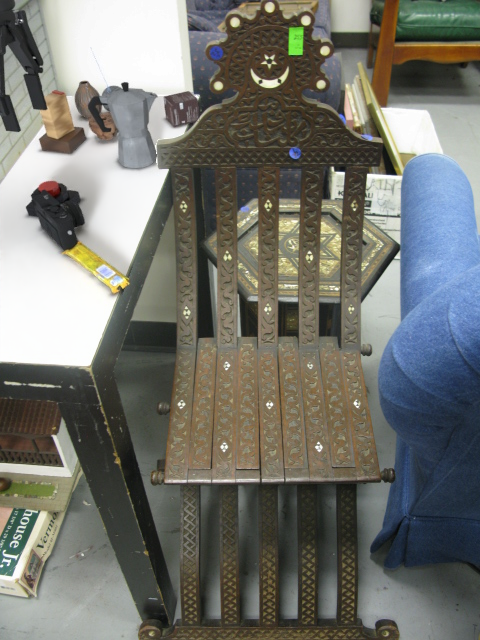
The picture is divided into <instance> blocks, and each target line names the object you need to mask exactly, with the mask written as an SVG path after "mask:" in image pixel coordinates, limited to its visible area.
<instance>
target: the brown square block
mask: <svg viewBox="0 0 480 640" xmlns="http://www.w3.org/2000/svg"><path fill="white" fill-rule="evenodd" d="M74 128H75V130H73V131H71V132H69V133H68V134H66V135H64V136H62V137H61V138H59V139H55V138H52V137H48V136H47V133H46V132H45V133H44V134H42V136H40V137H39V138H38V141H39V145H40V148H41V150H42V151H43V152H55V153H62V154H70V155H71V154H72V153H73V152H74V151H75V150H76V149H77V148H79V146H81V144H82V143H84V141H86V140H87V137H86V132H85V128H84V127H83V126H82V127H81V126H74Z"/></svg>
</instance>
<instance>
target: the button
mask: <svg viewBox="0 0 480 640" xmlns="http://www.w3.org/2000/svg"><path fill="white" fill-rule="evenodd" d="M58 183H59V182H57V181H55V180H46V181H43V182H41V183H40V184H39V185H38V187H37V188H39V190H44V189H45V190H46V191H47V192H48V193H49V194H50V195H51V196H55V195H58V194H59V193H60V189H59V185H58Z"/></svg>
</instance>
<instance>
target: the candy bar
mask: <svg viewBox="0 0 480 640" xmlns="http://www.w3.org/2000/svg"><path fill="white" fill-rule="evenodd" d="M61 255H66V256H68V257H69V258H71V259H72V260H74V261H75V262H76V263H77V264H79V265H80V266H81V267H83V268H84V269H86V271H89V272H90V274H92V275H93V276H95V277H96V278H97V279H99V280H100V281H101V282H103V284H105V285H106V286H107V287H108V288H110V290H111V292H112V294H113V295H114V294H117V293H118V292H119V291H120V289H118V288H119V287H121V289H125V288H126V287H127V286H129V285H130V282H129V281H130V277H127V276H126V275H124V274H123V273H122V272H120V271H119V270H118V269H116V267H114V266H113V265H111V264H110V263H109V262H107V261H106V260H105V259H103V258H102V257H101V256H99V255H98V254H97V253H96V252H95V251H93V250H92V249H90V248H89V247H88V246H86V244H84V243H83V242H82V241H81V240H78V243H77V245H76V246H75V247H74V248H72V249H70V250H66V251H64V250H63V251H62V252H61Z"/></svg>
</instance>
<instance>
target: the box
mask: <svg viewBox="0 0 480 640" xmlns="http://www.w3.org/2000/svg"><path fill="white" fill-rule="evenodd" d="M163 104H164V112H165V120H167V121H168V122H169V123H170V125H171V126H173V128H176V127H182V126H184V125H188V124H193V123H196V121H197V120H198V118H199V119H200V108H199V98H197V97H196V95H194V94H193V93H192V92H191V91H189V90H187V91H186V90H185V91H182V92H178V93H173V94H170V95H163ZM197 122H198V121H197Z"/></svg>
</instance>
